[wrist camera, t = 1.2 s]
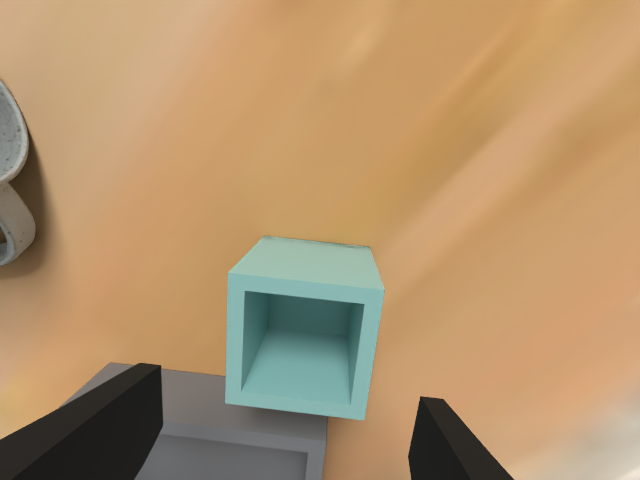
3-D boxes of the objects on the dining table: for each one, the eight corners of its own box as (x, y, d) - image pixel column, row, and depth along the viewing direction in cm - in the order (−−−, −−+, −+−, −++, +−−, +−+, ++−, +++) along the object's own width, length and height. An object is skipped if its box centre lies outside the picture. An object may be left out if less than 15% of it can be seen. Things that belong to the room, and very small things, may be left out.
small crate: (369, 246, 16) (384, 290, 11) (356, 340, 17) (364, 420, 12) (264, 235, 16) (228, 272, 11) (259, 329, 18) (225, 403, 12)
